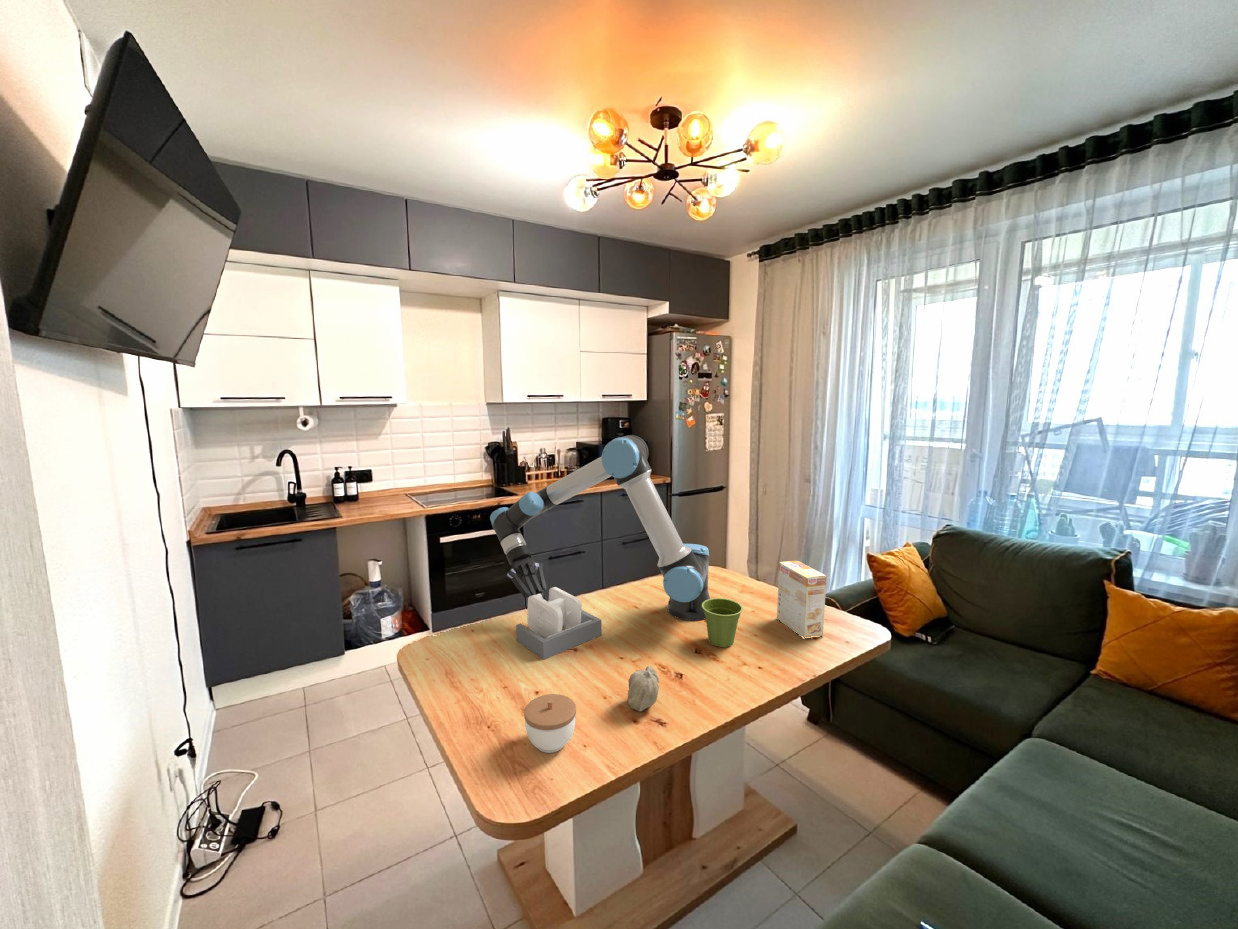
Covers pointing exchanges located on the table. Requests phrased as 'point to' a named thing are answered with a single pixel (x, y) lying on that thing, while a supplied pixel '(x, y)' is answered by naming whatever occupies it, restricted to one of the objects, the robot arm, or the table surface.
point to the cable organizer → (553, 612)
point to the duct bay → (560, 637)
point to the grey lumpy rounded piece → (643, 689)
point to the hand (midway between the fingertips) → (545, 614)
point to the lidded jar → (550, 721)
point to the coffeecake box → (801, 598)
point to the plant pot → (721, 620)
